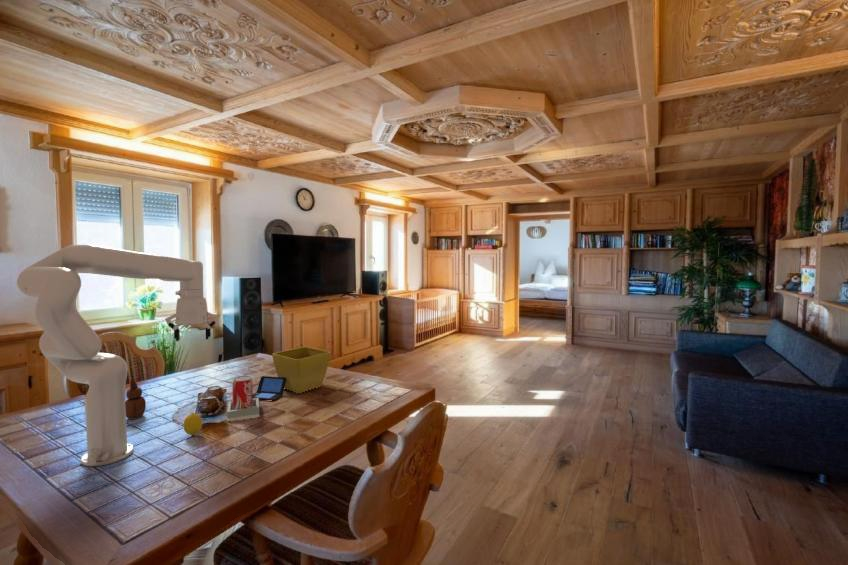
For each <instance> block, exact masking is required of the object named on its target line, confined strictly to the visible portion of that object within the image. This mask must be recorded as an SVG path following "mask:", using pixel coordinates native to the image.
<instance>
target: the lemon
mask: <svg viewBox="0 0 848 565" xmlns="http://www.w3.org/2000/svg"><path fill="white" fill-rule="evenodd" d="M202 428H203V419H202V417H201V415H200V414H198V413H195V412H191V413H190V414H188V415H187V416H186V417H185V418H184V421H183V430H184V432H185V433H186V434H187V435H189V436H190V435H191V436H192V437H193V436H194V437H195V436H196V434H198V433H199V432H200V431H201V430H202Z"/></svg>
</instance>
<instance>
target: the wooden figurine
mask: <svg viewBox="0 0 848 565" xmlns="http://www.w3.org/2000/svg"><path fill="white" fill-rule="evenodd" d="M129 381H130V383H129V384H130V388H129V389H128V390H127V391H126V392H125V397H126V398H127V399H126V400H125V406H126V419H128V420H135V419H139V418H141V417H143V416H144V415H145V412H146V407H147V406H146V405H147V404H146V399H145V397H143V396H142V395H143V390H142V388H141V387H138V384H137V382H136V381H135V380H134V379H133V380H132V379H130V380H129Z"/></svg>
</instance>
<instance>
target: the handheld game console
mask: <svg viewBox="0 0 848 565" xmlns="http://www.w3.org/2000/svg"><path fill="white" fill-rule="evenodd" d="M285 384H286V378H283V377H278V376H267V375H262V376H261V377H260V379H259V382H258V386H257V389H256V392H254V393H253V399H254V398H259V401H261V400H272V401H271V402H274V401H273V400H276V399H277V400H279V399H280V398H282V397H283V396H284V390H285V389H284V388H285ZM282 395H283V396H282ZM281 396H282V397H281ZM279 397H280V398H279ZM278 398H279V399H278ZM277 400H276V401H277Z"/></svg>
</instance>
